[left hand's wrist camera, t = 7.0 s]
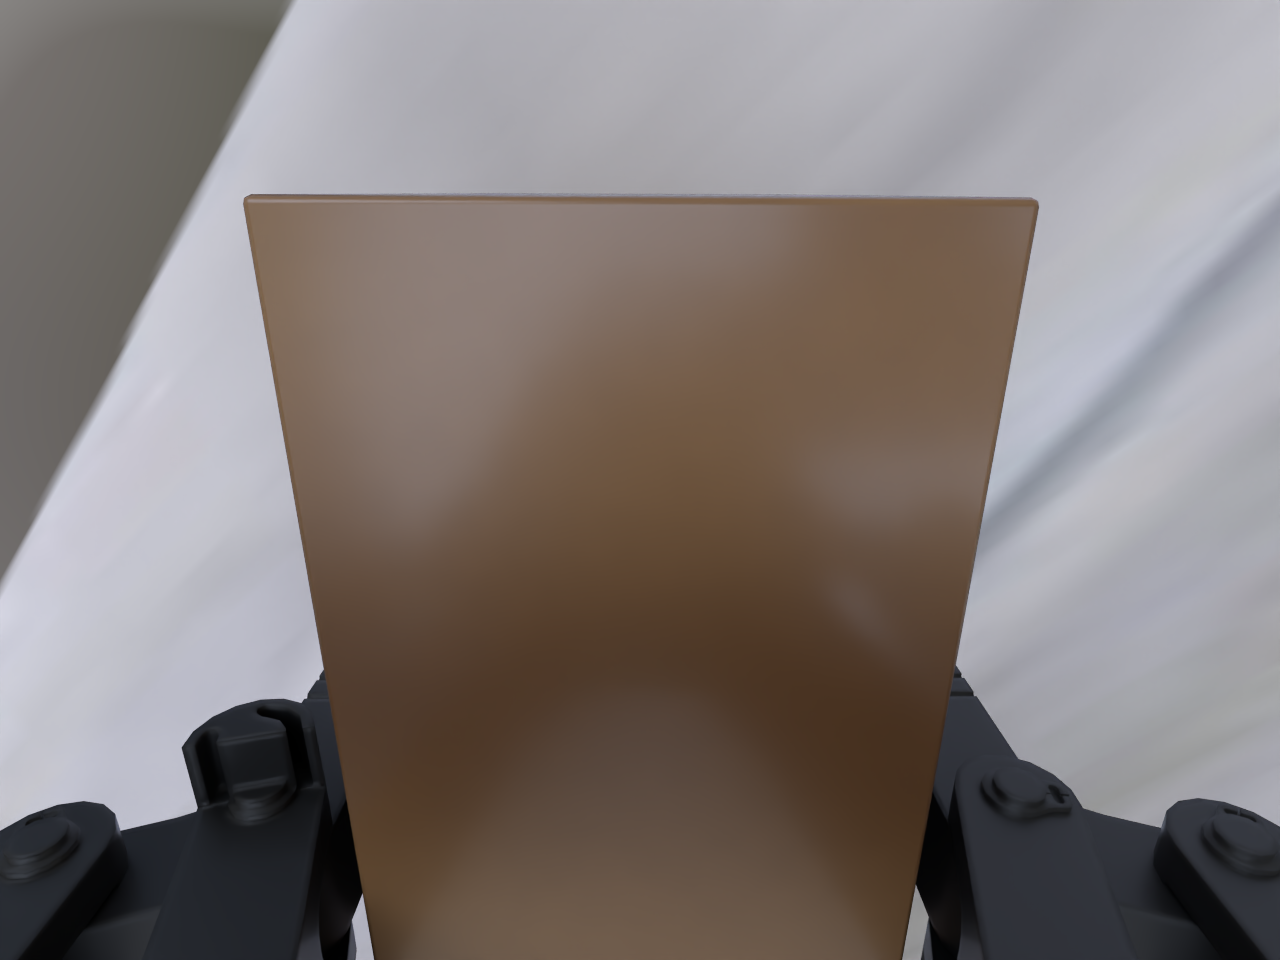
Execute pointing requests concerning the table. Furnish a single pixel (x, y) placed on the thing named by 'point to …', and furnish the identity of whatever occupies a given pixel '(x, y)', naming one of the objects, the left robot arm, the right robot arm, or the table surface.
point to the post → (639, 551)
